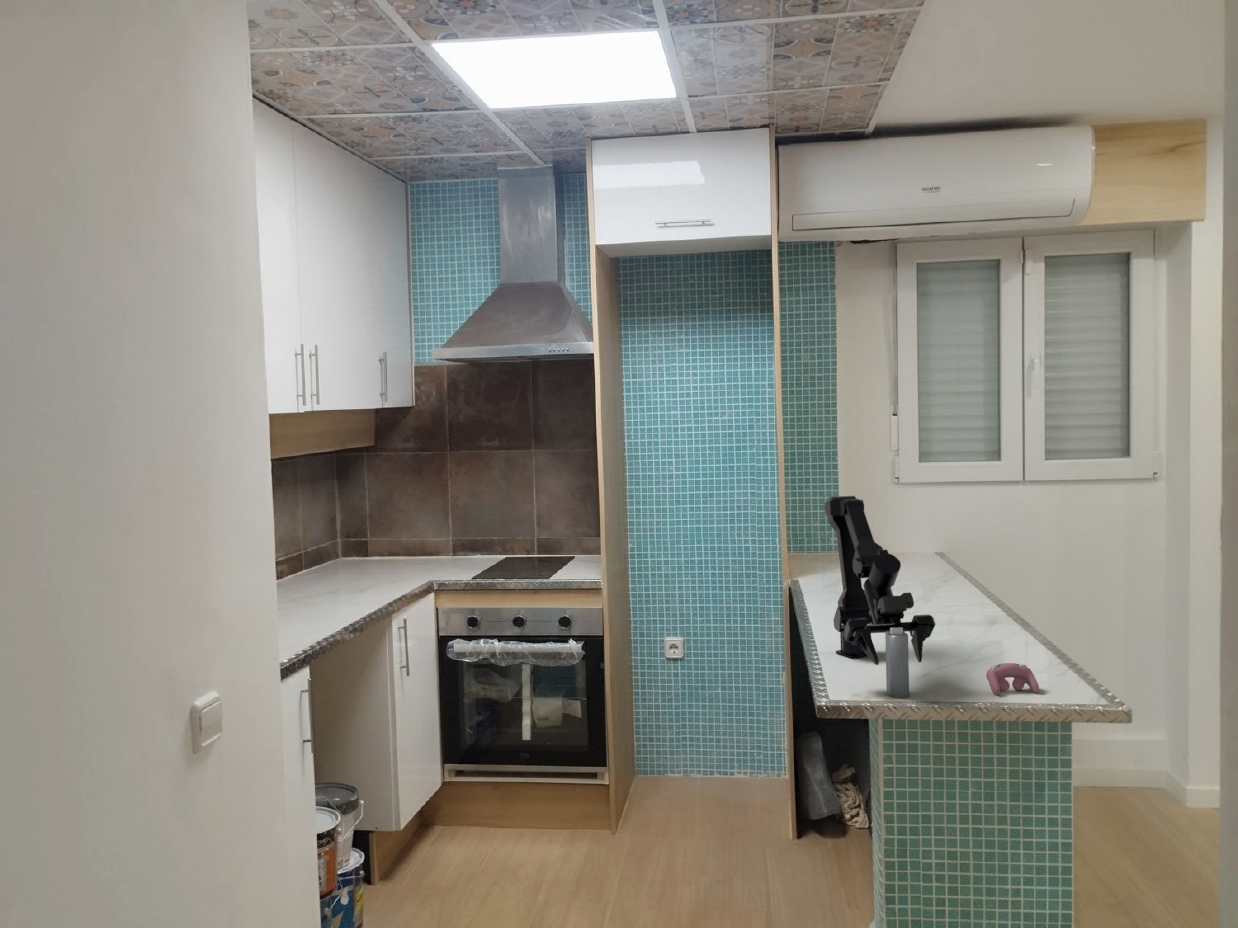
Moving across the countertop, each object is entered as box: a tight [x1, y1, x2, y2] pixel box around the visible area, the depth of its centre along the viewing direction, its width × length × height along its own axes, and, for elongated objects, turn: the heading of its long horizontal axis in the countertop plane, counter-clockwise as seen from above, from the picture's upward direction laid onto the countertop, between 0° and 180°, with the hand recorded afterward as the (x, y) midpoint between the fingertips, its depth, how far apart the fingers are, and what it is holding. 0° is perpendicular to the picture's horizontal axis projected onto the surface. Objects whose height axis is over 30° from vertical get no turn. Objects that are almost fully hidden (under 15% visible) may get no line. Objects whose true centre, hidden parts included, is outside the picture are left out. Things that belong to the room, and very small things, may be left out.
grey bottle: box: [884, 627, 910, 699], centre depth 214 cm, size 6×4×14 cm, turn 4°
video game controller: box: [985, 662, 1040, 696], centre depth 214 cm, size 10×5×7 cm, turn 92°
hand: (898, 662), depth 213 cm, fingers open, 9 cm apart
